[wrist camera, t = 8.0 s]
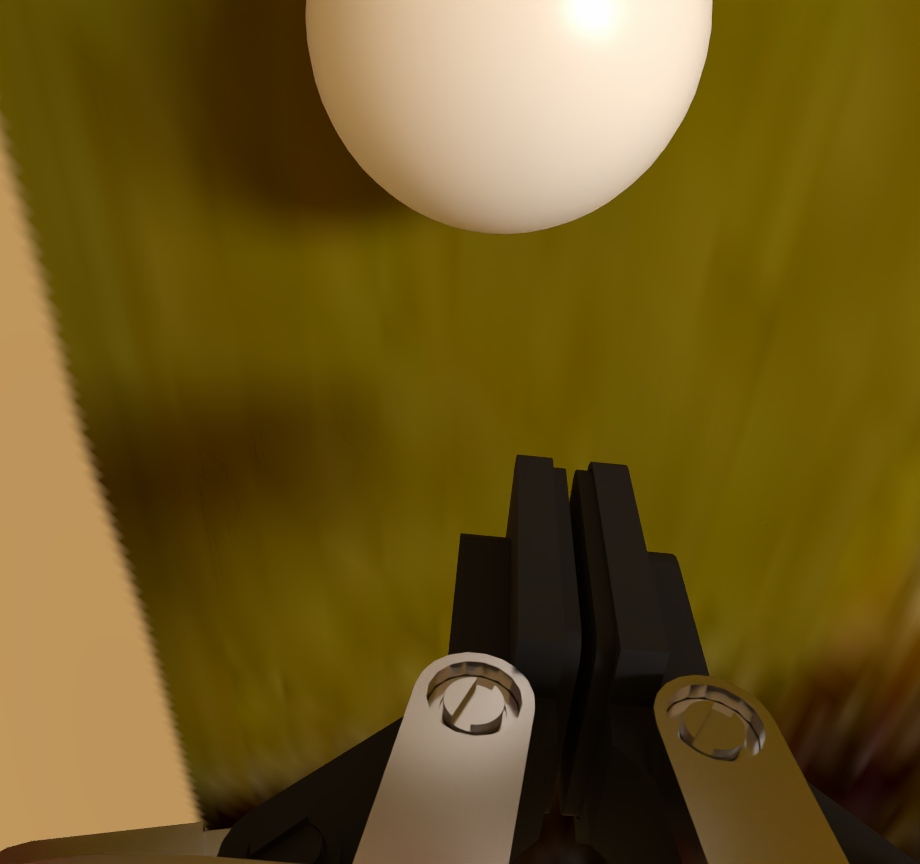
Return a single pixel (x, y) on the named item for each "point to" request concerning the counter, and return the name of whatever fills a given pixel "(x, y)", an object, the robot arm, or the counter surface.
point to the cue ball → (506, 99)
